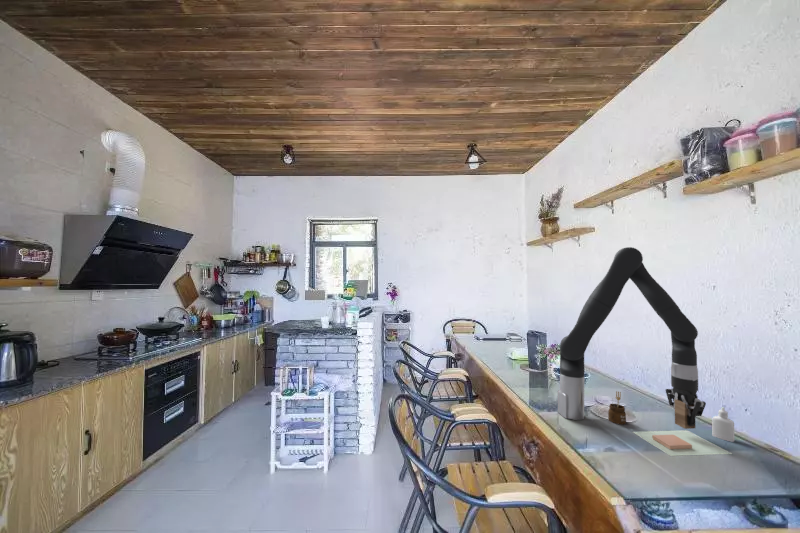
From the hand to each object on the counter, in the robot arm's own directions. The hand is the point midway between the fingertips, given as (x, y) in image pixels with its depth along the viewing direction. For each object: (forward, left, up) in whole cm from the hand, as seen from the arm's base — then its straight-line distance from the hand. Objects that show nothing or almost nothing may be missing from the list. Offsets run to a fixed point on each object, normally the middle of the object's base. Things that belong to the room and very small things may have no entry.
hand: (684, 422), depth 120 cm
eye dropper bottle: (+13, -2, -6) cm, 14 cm away
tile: (-6, -5, -4) cm, 9 cm away
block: (0, 0, -1) cm, 1 cm away
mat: (-6, -4, -6) cm, 9 cm away
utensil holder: (-16, +13, -6) cm, 22 cm away
